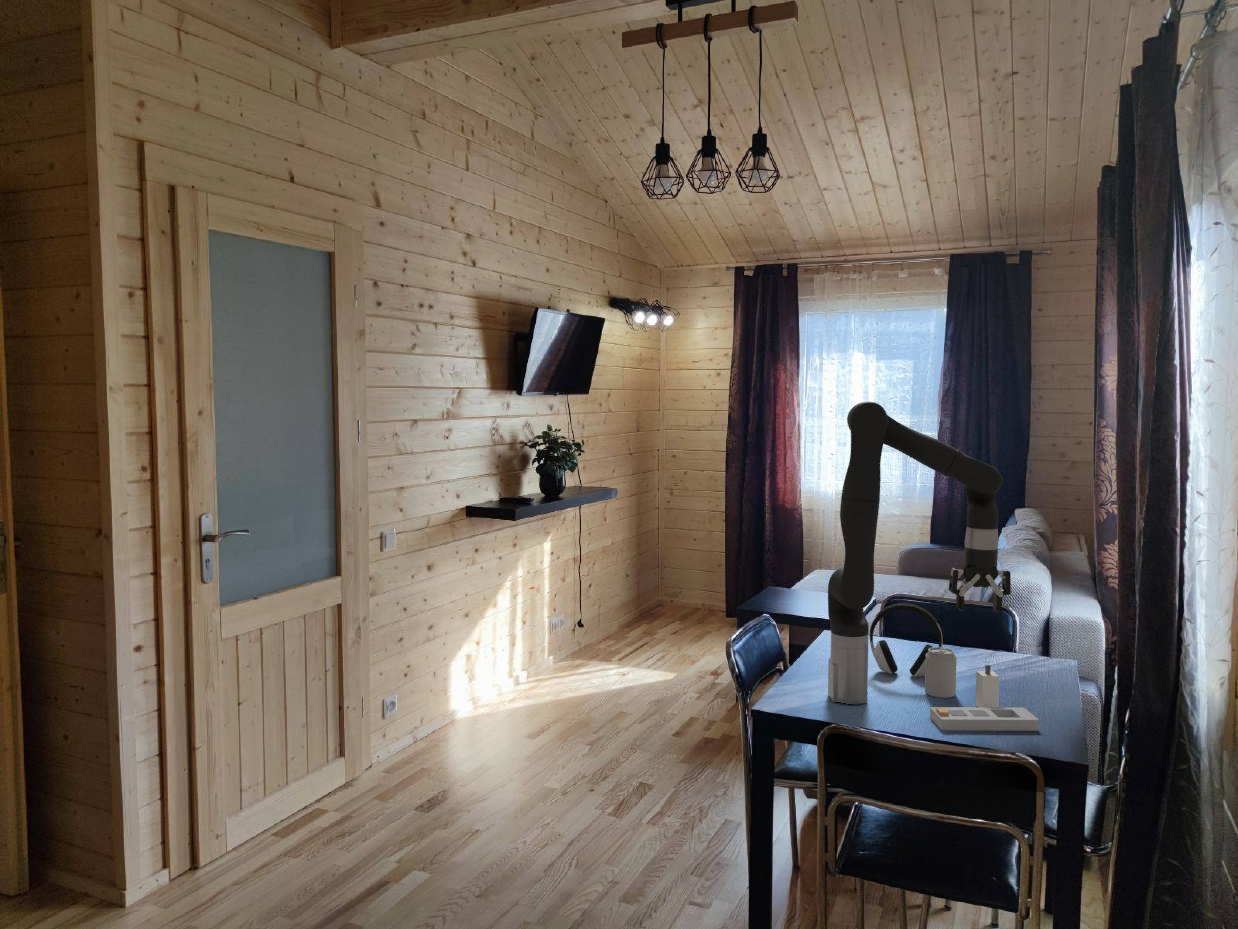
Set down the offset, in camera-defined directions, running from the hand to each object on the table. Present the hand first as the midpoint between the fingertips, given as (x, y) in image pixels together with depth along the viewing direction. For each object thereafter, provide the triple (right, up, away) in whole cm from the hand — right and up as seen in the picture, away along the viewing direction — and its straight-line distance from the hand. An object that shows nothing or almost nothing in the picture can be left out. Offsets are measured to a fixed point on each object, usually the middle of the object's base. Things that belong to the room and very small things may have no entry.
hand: (978, 611), depth 221 cm
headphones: (-10, -22, +26) cm, 35 cm away
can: (-6, -23, +8) cm, 26 cm away
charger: (+1, -24, -2) cm, 24 cm away
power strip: (-4, -25, -13) cm, 28 cm away
